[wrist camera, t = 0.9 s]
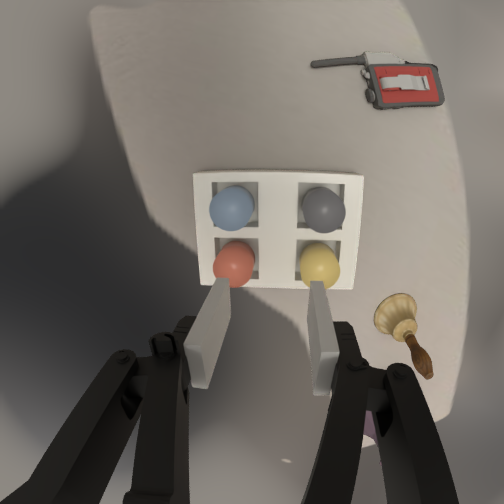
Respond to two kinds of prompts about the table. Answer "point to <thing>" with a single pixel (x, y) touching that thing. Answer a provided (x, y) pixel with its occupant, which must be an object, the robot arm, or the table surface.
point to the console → (278, 223)
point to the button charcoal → (323, 210)
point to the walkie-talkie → (395, 80)
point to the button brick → (235, 263)
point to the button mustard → (319, 265)
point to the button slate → (232, 208)
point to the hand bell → (403, 328)
